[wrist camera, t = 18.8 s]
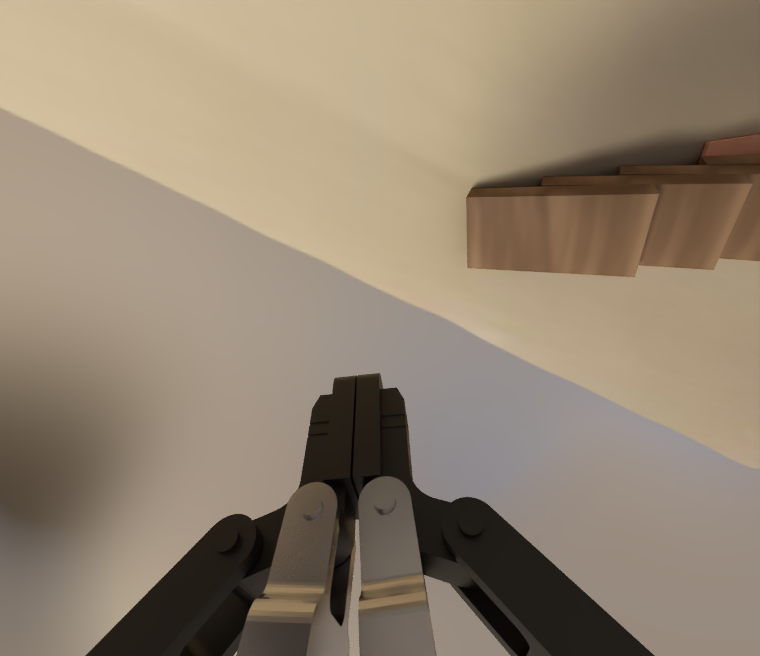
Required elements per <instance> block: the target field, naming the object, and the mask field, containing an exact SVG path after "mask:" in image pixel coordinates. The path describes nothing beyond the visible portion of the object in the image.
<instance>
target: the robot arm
mask: <svg viewBox="0 0 760 656" xmlns="http://www.w3.org/2000/svg"><path fill="white" fill-rule="evenodd" d="M356 519H359V535H360V557H361V558H360V559H361V586H362V589H361V595H360V598H359V614H358V615H359V646H360V656H437V655H436V649H435V642H434V637H433V630H432V624H431V618H430V611H429V605H428V599H427V592H426V587H425V579H424V575H427V576H429V577H433V578H435V579H438V580H442V581H444V582H447V583H450V584H451V585H452V587H453V588H454V589H455V590H456V592H457V593H458V594H459V595H460V596H461V598H462V599H463V600H464V601H465V602H466V603H467V605H468V606H469V607H470V608H471V609H472V610H473V612H474V613H475V614H476V615H477V616H478V618H479V619H480V620H481V621H482V622H483V623H484V625H485V626H486V627H487V628H488V629H489V630H490V632H491V633H492V634H493V635H494V636H495V638H496V639H497V640H498V641H499V642H500V643H501V645H502V646H503V647H504V648H505V649H506V650H507V652H508V653H509V654H510V655H511V656H654V655H653V654H652V653H651V652H650V651H649V650H648V649H646V648H645V647H644V646H643V645H642V644H641V643H640V642H639V641H638V640H637V639H635V638H634V637H633V636H632V635H631V634H630V633H629V632H627V630H626V629H624V628H623V627H622V626H621V625H620V624H619V623H618V622H617V621H616V620H615V619H613V618H612V617H611V616H610V615H609V614H608V613H607V612H606V611H604V610H603V609H602V608H601V607H600V606H599V605H598V604H597V603H596V602H595V601H594V600H592V599H591V598H590V597H589V596H588V595H587V594H586V593H585V592H583V590H581V589H580V588H579V587H578V586H577V585H576V584H575V583H574V582H572V581H571V580H570V579H569V578H568V577H567V576H566V575H565V574H564V573H562V571H561V570H559V569H558V568H557V567H556V566H555V565H554V564H553V563H552V562H551V561H549V560H548V559H547V558H546V557H545V556H544V555H543V554H542V553H541V552H540V551H538V550H537V549H536V548H535V547H534V546H533V545H532V544H531V543H530V542H529V541H527V540H526V539H525V538H524V537H523V536H522V535H521V534H520V533H519V532H518V531H516V530H515V529H514V528H513V527H512V526H511V525H510V524H509V523H508V522H507V521H505V520H504V519H503V518H502V517H501V516H500V515H499V514H497V512H495V511H494V510H493V509H492V508H491V507H490V506H489V505H488V504H486V503H485V502H483V501H481V500H479V499H476V498H472V497H464V498H459V499H456V500H455V501H453V502H447V501H443V500H439V499H436V498H432V497H429V496H427V495H426V494H424V493H422V492H421V491H420V490H419V489H418V488H417V487H416V485H415V484H414V482H413V478H412V466H411V455H410V444H409V431H408V423H407V416H406V409H405V402H404V398H403V397H402V395H401V394H400V392H399V390H398V389H397V388H388V389H383V385H382V380H381V375H380V373H377V374H366V375H358V377H357V376H348V377H339V378H335V379H334V384H333V393H332V394H330V395H320V397H319V399H318V400H317V402H316V403H315V405H314V407H313V409H312V415H311V420H310V426H309V433H308V439H307V445H306V451H305V457H304V463H303V470H302V476H301V482H300V485H299V488H298V490H297V491H296V492H295V493H294V494H293V495H292V496H291V498H290V500H289V501H288V503H287V504H286V505H284V506H283V507H282V508H280V509H278V510H276V511H274V512H271V513H269V514H267V515H264V516H262V517H260V518H257V519H255V520H253V521H252V520H251V518H249V517H248V516H246V515H243V514H234V515H230V516H227V517H226V518H224V519H222V520H220V521H219V522H218V523H216V524H215V525H214V526H213V527H212V528H211V529H210V530H209V531H208V532H207V533H206V534H205V535H204V536H203V537H202V538H201V539H200V540H199V541H198V542H197V543H196V544H195V546H194V547H192V548H191V550H189V552H188V553H187V554H186V555H185V556H184V557H183V558H182V559H181V560H180V561H179V562H178V563H177V564H176V565H175V566H174V567H173V568H172V569H171V570H170V571H169V572H168V573H167V574H166V575H165V576H164V577H163V578H162V579H161V580H160V581H159V582H158V583H157V584H156V585H155V586H154V587H153V588H152V589H151V590H150V591H149V592H148V593H147V594H146V595H145V596H144V597H143V598H142V599H141V600H140V601H139V602H138V603H137V604H136V605H135V606H134V607H133V608H132V609H131V610H130V611H129V613H127V615H125V616H124V617H123V618H122V620H120V621H119V622H118V623H117V624H116V625H115V626H114V627H113V628H112V630H111V631H110V632H109V633H108V634H107V635H106V636H105V637H104V638H103V639H102V640H101V641H100V642H99V643H98V644H97V645H96V646H95V647H94V648H93V649H92V650H91V651H90V652H89V653H88V654H87V655H86V656H233V655H234V654H235V653H236V652H237V655H236V656H349V635H348V619H349V610H350V600H351V591H352V581H353V571H354V561H355V552H356V543H355V520H356ZM237 650H238V651H237Z"/></svg>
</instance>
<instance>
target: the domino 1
mask: <svg viewBox="0 0 760 656" xmlns="http://www.w3.org/2000/svg"><path fill="white" fill-rule="evenodd" d="M658 196H659V193H658V190H657V188H656V185H655V183H654V184H618V185H581V186H545V187H508V188H472V189H471V190H470V192H469V194H468V196H467V197H466V205H467V266H468V268H477V269H496V270H514V271H533V272H551V273H570V274H588V275H607V276H625V277H635V274H636V271H637V267H638V264H639V261H640V257H641V254H642V250H643V247H644V244H645V240H646V237H647V233H648V230H649V227H650V223H651V220H652V216H653V213H654V209H655V206H656V203H657V199H658Z"/></svg>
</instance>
